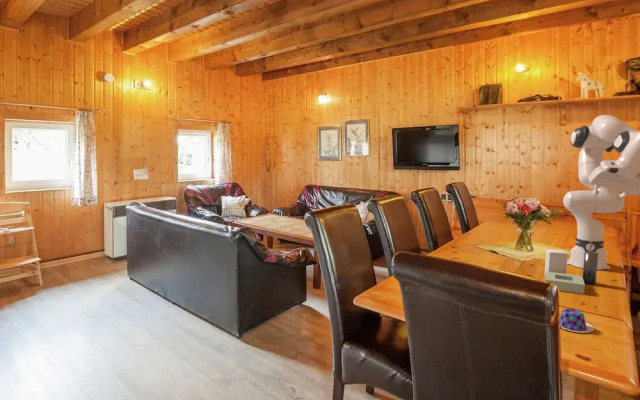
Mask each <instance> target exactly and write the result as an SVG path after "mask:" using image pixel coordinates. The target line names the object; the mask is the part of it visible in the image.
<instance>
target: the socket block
mask: <svg viewBox="0 0 640 400" xmlns="http://www.w3.org/2000/svg"><path fill="white" fill-rule="evenodd" d="M544 273H545V275H544V282H545V281H548V282H552V283H554V284H556V285H557V286H558V288H559V291H560V292H565V293H571V294H579V295H585V287H586V284H584V280H583V275H579V274H578V275H577V274H570V273H566V274H563V273H556V272H548V271H545V270H544ZM559 291H558V292H559Z"/></svg>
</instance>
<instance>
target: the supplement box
mask: <svg viewBox="0 0 640 400" xmlns="http://www.w3.org/2000/svg"><path fill="white" fill-rule="evenodd" d="M544 260H545V262H544V273H543V274H544V276H545V271H548V272H556V273H563V274H567V265H568V264H567V260H568V253H567V252H566V251H565V250H563V249H548V248H546V250H545V259H544Z"/></svg>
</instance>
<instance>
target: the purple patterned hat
mask: <svg viewBox="0 0 640 400" xmlns="http://www.w3.org/2000/svg"><path fill="white" fill-rule="evenodd" d="M559 317H560V324H561V325H560V326H561V329H563V330H566V331H570V332H575V333H583V334H584V333H592V332H593V331H594V330H595V327H594V326H593V325H591V324H590V323H588V322H586V319H585V314H584V313H583V312H582V311H580V310H578V309H574V308H565V309H563V310H562V311H561V315H559ZM567 328H568V330H567ZM575 330H576V331H575Z"/></svg>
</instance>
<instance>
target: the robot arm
mask: <svg viewBox="0 0 640 400" xmlns="http://www.w3.org/2000/svg"><path fill="white" fill-rule="evenodd" d="M570 144H571V146H572V147H573V148H577V149H581V150H580V151H579V153H578V154H579V155H578V159H577V160H578V161H577V162H578V164H577V167H578V169H577V171H578V181H579V182H580V184H581V185H583V186H585V187H587V188H589V189H590V190H583V189H582V190H571V191H567V192H566V193H565V194H564V195H563V199H562V203H563V206H564V208H566V210H568V211H569V212H570V213H571V214H572V215H573V217H574V218H575V221H576V227H577V228H576V229H577V231H576V232H577V233H576V237H575V240H574V242H575V245H574V247H572V248H571V249H570V250H569V258H567V265H569V264H570V265H571V266H574V267H577V268H581V269H583V265H584V253H585V251H591V252H596V253H598V264H597V271H598V270H599V271H600V270H601V271H602V270H611V266H610V265H608V264H607V257H608V252H607V251H606V250H605V249H604V246H605V241H604V235H605V234H604V233H605V226H604V224H603V223H602V222H601V221H600V220H598V219H596V218H593V217H592V213H599V214H612V213H619V212H620V211H621V210H623V208H624V206H625V197H628V196H629V195H634V196H639V195H640V130H639V131H638V130H636V129H635V128H633V127H632V126H630V125H629V124H628V123H626V122H624V120H621V119H620V118H618V117H616V116H614V115H610V114H602V115H601V114H600V115H597V116H596V117H595V118H594V119H593V120H592V122H591V125H590V126H587V125H582V126H581V127H577V128H575V129H574V130H573V131H572V133H571V135H570ZM613 150H615V152H617V154H620V157H618V158H617V159H614V160H612V159H611V160H604V153H605V152H606V153H611V151H613ZM621 192H622V193H621ZM570 265H569V266H570Z"/></svg>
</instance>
